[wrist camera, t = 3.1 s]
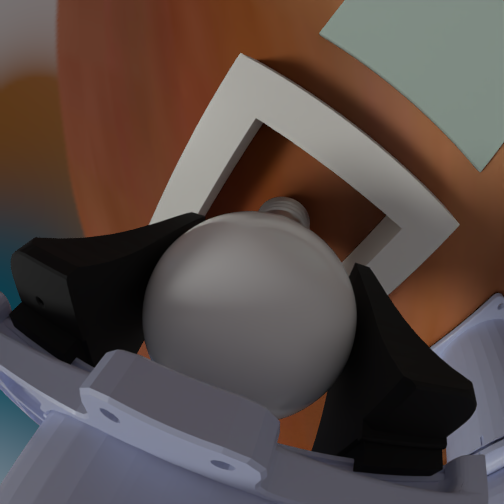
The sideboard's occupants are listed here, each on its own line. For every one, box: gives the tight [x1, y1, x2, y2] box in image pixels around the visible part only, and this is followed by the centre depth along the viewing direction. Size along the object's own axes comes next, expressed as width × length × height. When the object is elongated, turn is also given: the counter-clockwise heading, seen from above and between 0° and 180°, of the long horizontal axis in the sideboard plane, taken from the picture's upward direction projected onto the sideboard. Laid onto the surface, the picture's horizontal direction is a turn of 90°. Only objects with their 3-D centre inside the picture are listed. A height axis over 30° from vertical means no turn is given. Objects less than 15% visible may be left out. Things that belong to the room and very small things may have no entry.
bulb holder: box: [149, 53, 460, 295], centre depth 15 cm, size 12×14×2 cm
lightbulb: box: [142, 197, 357, 420], centre depth 11 cm, size 6×6×11 cm
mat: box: [319, 0, 504, 172], centre depth 8 cm, size 10×9×1 cm
